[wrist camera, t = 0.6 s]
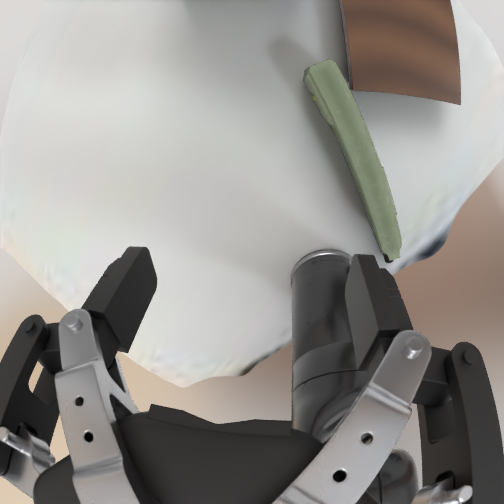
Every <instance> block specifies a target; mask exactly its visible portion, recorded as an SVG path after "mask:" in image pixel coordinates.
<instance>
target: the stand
mask: <svg viewBox="0 0 504 504" xmlns="http://www.w3.org/2000/svg"><path fill="white" fill-rule="evenodd" d="M339 3H340V9H341V15H342V21H343V28H344V35H345V43H346V52H347V62H348V73H349V86H350V90H355V91H371V92H383V93H393V94H401V95H409V96H416V97H422V98H428V99H433V100H439V101H444V102H449V103H453V104H458V105H461V83H460V63H459V52H458V43H457V35H456V28H455V22H454V16H453V11H452V6H451V2H450V0H339Z"/></svg>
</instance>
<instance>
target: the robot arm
mask: <svg viewBox="0 0 504 504" xmlns="http://www.w3.org/2000/svg"><path fill="white" fill-rule="evenodd" d="M291 287H292V421H277V420H257V419H254V420H248V421H241V422H233V423H226V424H225V423H224V424H215V423H212V422H209V421H207V420H204V419H202V418H199V417H197V416H195V415H192V414H190V413H188V412H185V411H183V410H178V409H173V408H168V407H163V406H159V405H154V404H151V406H150V409H149V411H147V412H139V410H138V408H137V406H136V405H135V403H134V402H133V400H132V398H131V395H130V393H129V390H128V387H127V384H126V382H125V378H124V375H123V372H122V369H121V366H120V363H119V360H118V358H117V356H116V353H117V351H120V352H125V353H128V352H129V349H130V347H131V345H132V342H133V340H134V338H135V335H136V333H137V331H138V328H139V326H140V324H141V322H142V319H143V317H144V315H145V313H146V310H147V308H148V306H149V304H150V302H151V300H152V297H153V295H154V293H155V291H156V288H157V276H156V272H155V269H154V266H153V262H152V259H151V256H150V252H149V250H148V248H147V247H128V248H127V249H126V251H125V252H124V254H123V255H122V257H121V258H118V259H117V260H115V261H114V262H113V263H112V264H110V265H109V266H108V268H107V269H106V271H105V272H104V274H103V276H102V277H101V278H100V280H99V281H98V284H96V286H95V287H94V289H93V290H92V292H91V293H90V295H89V296H88V298H87V300H86V301H85V303H84V304H83V306H82V308H81V309H75V310H72V311H70V312H69V313H67V314H66V315H65V316H64V317H63V318H62V320H61V321H60V322H59V323H51V324H46V323H45V321H44V320H43V319H42V317H41V316H40V315H31V316H29V317H28V318H26V319H25V320H24V321H23V322H22V323H21V325H20V327H19V328H18V330H17V332H16V334H15V336H14V337H13V339H12V341H11V343H10V345H9V346H8V349H7V350H6V352H5V354H4V356H3V358H2V360H1V362H0V477H2V478H5V479H7V480H8V481H9V482H11V483H12V484H13V485H14V486H16V487H17V488H18V489H20V490H21V491H23V492H24V493H25V494H27V495H28V496H30V497H31V498H33V500H34V504H504V454H503V446H502V438H501V432H500V425H499V420H498V415H497V410H496V405H495V401H494V397H493V393H492V389H491V385H490V381H489V378H488V374H487V371H486V368H485V364H484V361H483V358H482V356H481V353H480V352H479V350H478V349H477V348H476V347H475V346H474V345H472V344H471V343H468V342H460V343H458V344H456V345H455V347H454V348H453V349H452V350H451V351H449V350H445V349H440V348H435V347H432V346H431V345H430V343H429V341H428V340H427V338H426V337H425V336H423V335H422V334H421V333H419V332H416V331H414V330H413V327H412V324H411V321H410V318H409V315H408V313H407V310H406V307H405V305H404V302H403V300H402V299H401V294H400V292H399V290H398V287H397V284H396V282H395V279H394V277H393V276H392V275H391V274H390V273H389V272H388V271H387V270H386V269H385V268H379V266H378V264H377V261H376V259H375V256H374V255H364V254H354V256H353V258H351V257H350V256H349V255H347V254H346V253H344V252H341V251H338V250H319V251H315V252H313V253H310V254H308V255H306V256H305V257H303V258H302V259H301V260H300V261H299V262H298V263H297V264H296V265H295V267H294V269H293V271H292V274H291ZM37 361H38V362H40V364H41V365H42V366H43V367H44V368H43V370H42V372H41V374H40V377H39V379H38V382H37V384H36V386H35V389H34V391H33V393H32V392H31V391H30V389H29V385H28V383H29V379H30V376H31V374H32V372H33V370H34V367H35V365H36V363H37ZM411 403H415V404H417V409H418V417H419V427H420V437H421V451H422V475H423V488H422V489H421V490H419V478H418V471H417V467H416V465H415V462H414V459H413V457H412V456H411V455H410V454H409V452H407V451H406V450H404V449H399V448H398V449H393V448H394V446H395V445H396V443H397V441H398V439H399V438H400V436H401V434H402V432H403V430H404V428H405V426H406V424H407V423H408V420H409V418H410V416H411V413H412V409H410V405H411ZM59 414H60V416H61V421H62V425H63V430H64V434H65V438H66V442H67V446H68V449H69V453H70V454H69V455H68V456H67V457H65V458H63V459H62V460H60V461H59V462H57V463H56V464H55V457H54V456H53V455H52V454H51V453H50V449H49V447H50V443H51V440H52V436H53V433H54V429H55V426H56V423H57V420H58V417H59ZM291 427H292V428H291ZM50 466H51V467H50Z"/></svg>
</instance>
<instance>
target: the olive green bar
mask: <svg viewBox="0 0 504 504" xmlns="http://www.w3.org/2000/svg"><path fill="white" fill-rule="evenodd" d="M304 74H305V76H304V77H303V81H304V83H305V84H306V86H307V88H308V90H309V92H310V94H311V96H312V98H313V99H314V101H315V103H316V105H317V107H318V109H319V111H320V113H321V115H322V116H323V117H324V119H325V120H326V121H327V122H328V123H329V124H330V125H331V127H332V129H333V131H334V134H335V136H336V138H337V140H338V143H339V145H340V147H341V149H342V152H343V154H344V156H345V159H346V161H347V164H348V166H349V169H350V171H351V174H352V176H353V179H354V181H355V184H356V186H357V189H358V192H359V194H360V197H361V200H362V203H363V206H364V208H365V211H366V214H367V217H368V220H369V223H370V225H371V228H372V230H373V232H374V235H375V237H376V240H377V242H378V245H379V247H380V250H381V251H382V252H383V255H384V259H385V262H386V263H391V262H392V261H393V260H394V259H397V258H400V248H401V245H402V242H401V235H400V230H399V226H398V222H397V218H396V215H397V212H396V209H395V205H394V202H393V198H392V194H391V191H390V188H389V184H388V181H387V178H386V175H385V172H384V168H383V167H382V166H381V164H380V161H379V158H378V156H377V153H376V150H375V147H374V145H373V142H372V140H371V137H370V135H369V132H368V130H367V127H366V125H365V122H364V120H363V118H362V115H361V113H360V111H359V108H358V106H357V104H356V102H355V100H354V98H353V95H352V93H351V91H350V89H349V87H348V85H347V83H346V81H345V79H344V77H343V75H342V73H341V71H340V70H339V68H338V66H337V64H336V62H335V61H333V60H330V59H327V60H325V61H322V62H320V63H317V64H315V65H313V66H311V67H309V68H307V69H306V70H305V72H304Z"/></svg>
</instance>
